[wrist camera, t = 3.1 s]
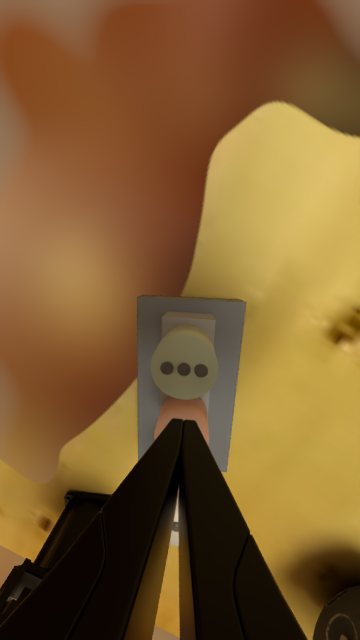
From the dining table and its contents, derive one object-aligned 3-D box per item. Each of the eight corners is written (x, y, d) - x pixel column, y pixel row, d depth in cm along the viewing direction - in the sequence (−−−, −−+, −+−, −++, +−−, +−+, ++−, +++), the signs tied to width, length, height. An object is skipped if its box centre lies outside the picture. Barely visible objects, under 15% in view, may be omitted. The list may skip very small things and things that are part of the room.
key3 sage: (164, 360, 15) (149, 397, 10) (165, 316, 15) (150, 334, 10) (209, 363, 15) (215, 403, 10) (213, 318, 14) (221, 339, 9)
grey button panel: (143, 445, 22) (130, 487, 17) (143, 295, 18) (126, 299, 14) (223, 454, 21) (231, 500, 16) (240, 299, 17) (255, 306, 13)
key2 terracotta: (165, 409, 18) (153, 459, 13) (166, 374, 17) (154, 412, 12) (204, 413, 17) (207, 465, 13) (206, 377, 17) (211, 417, 12)
